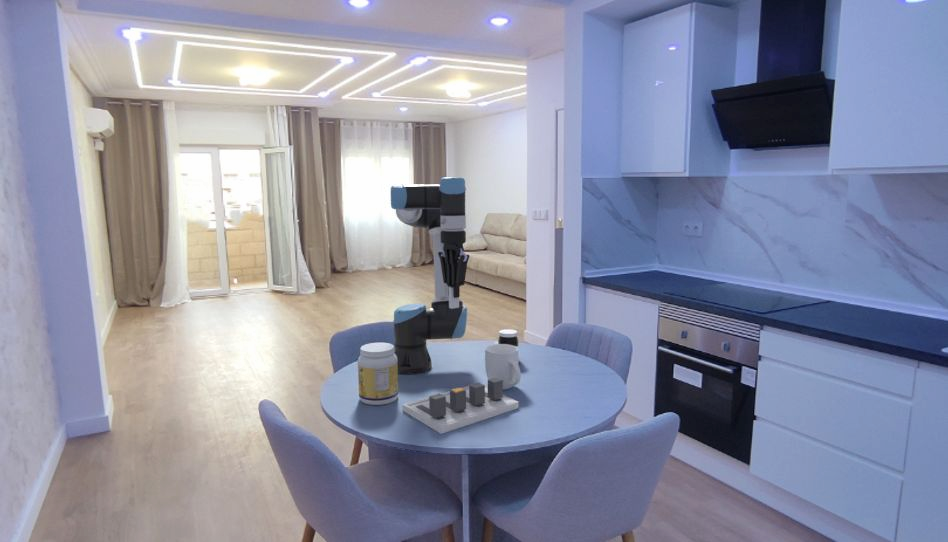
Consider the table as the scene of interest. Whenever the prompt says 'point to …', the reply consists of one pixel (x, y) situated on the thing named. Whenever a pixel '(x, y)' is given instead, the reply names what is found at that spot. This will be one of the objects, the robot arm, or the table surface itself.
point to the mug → (503, 364)
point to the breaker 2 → (457, 399)
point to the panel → (459, 418)
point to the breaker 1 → (437, 405)
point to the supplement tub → (378, 374)
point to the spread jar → (508, 337)
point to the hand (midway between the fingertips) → (454, 307)
